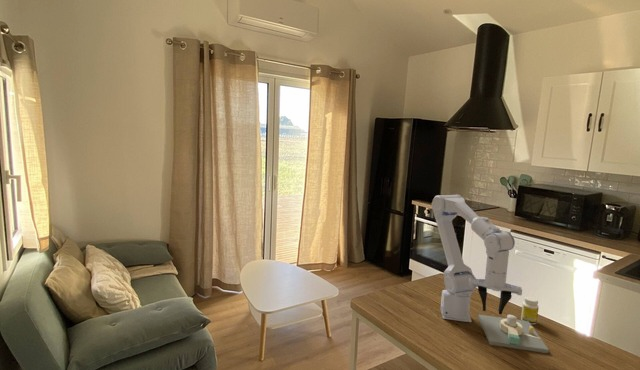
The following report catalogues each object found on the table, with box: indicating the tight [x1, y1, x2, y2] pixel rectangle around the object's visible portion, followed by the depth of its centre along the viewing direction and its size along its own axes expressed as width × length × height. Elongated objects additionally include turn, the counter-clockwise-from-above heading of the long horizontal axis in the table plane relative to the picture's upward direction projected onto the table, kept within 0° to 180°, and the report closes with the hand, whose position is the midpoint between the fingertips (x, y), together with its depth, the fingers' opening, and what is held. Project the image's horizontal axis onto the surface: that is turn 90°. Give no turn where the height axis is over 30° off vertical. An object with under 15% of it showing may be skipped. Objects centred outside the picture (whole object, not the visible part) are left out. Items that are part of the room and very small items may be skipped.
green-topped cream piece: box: [500, 319, 523, 345], centre depth 105 cm, size 11×6×2 cm, turn 157°
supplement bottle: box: [520, 295, 539, 325], centre depth 116 cm, size 5×5×8 cm
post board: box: [477, 314, 550, 354], centre depth 108 cm, size 16×16×6 cm
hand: (491, 311), depth 104 cm, fingers open, 4 cm apart
